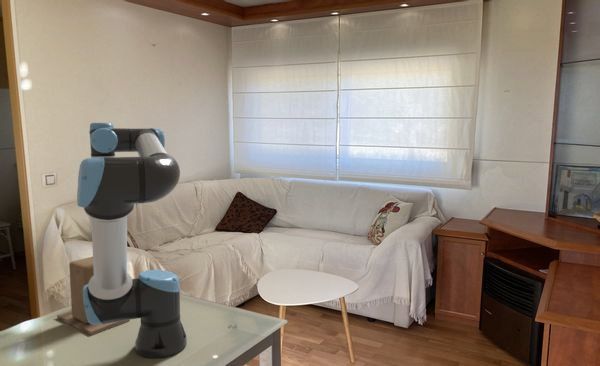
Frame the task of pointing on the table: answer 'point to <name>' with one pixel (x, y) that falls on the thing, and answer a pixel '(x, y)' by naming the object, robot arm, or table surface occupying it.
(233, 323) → the table surface
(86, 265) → the wooden block
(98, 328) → the board
